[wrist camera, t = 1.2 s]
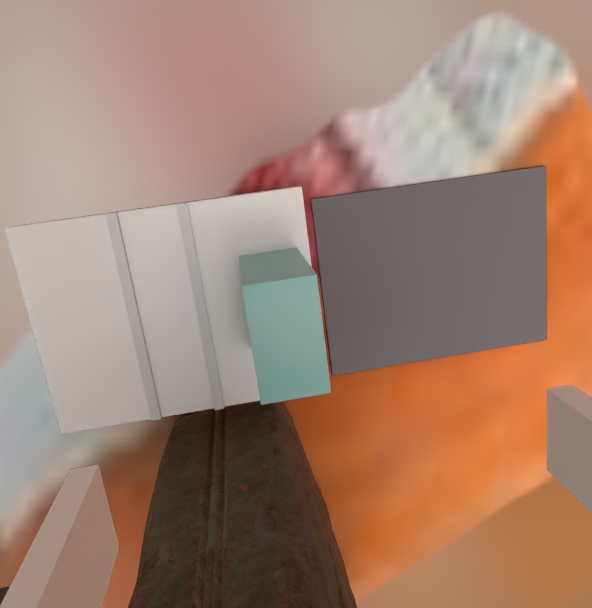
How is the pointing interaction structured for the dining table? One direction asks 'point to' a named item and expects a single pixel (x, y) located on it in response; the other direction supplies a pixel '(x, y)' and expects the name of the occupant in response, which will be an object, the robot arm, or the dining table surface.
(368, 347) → the mat
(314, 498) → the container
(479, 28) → the dining table surface
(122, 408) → the lid
